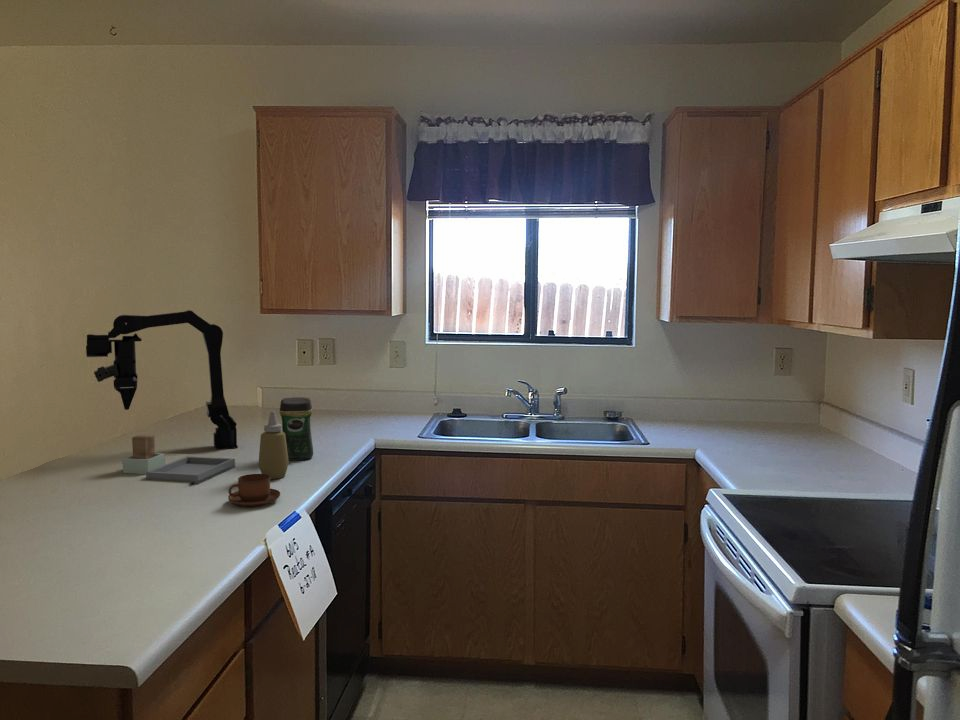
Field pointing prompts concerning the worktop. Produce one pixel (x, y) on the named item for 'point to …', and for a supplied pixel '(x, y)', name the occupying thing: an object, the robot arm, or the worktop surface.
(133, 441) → the square block
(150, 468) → the mint green open box
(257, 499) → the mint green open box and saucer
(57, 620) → the worktop surface
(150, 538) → the worktop surface
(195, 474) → the tray
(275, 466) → the squeeze bottle
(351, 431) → the worktop surface
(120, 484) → the worktop surface
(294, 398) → the coffee jar
